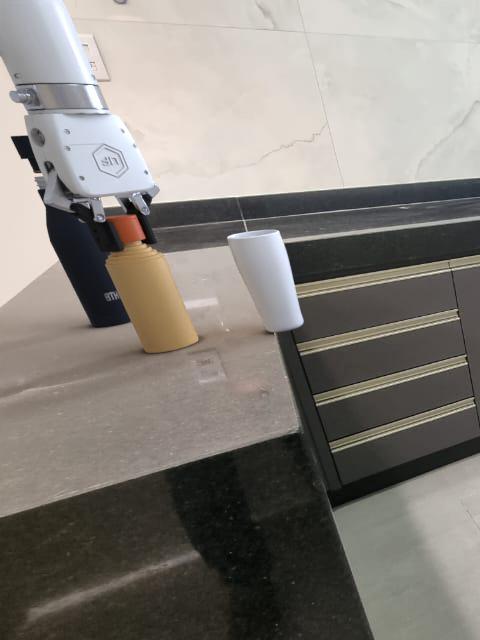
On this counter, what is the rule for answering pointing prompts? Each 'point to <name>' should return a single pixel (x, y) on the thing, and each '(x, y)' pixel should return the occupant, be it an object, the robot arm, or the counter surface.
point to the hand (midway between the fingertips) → (129, 246)
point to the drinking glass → (267, 278)
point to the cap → (127, 227)
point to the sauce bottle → (151, 298)
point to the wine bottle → (79, 255)
